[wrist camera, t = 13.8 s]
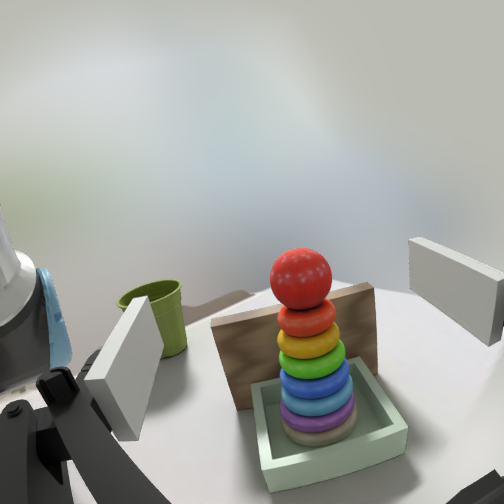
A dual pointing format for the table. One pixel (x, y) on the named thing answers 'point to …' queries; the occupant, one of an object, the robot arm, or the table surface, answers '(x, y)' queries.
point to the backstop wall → (266, 333)
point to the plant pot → (163, 311)
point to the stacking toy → (311, 352)
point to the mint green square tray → (333, 455)
